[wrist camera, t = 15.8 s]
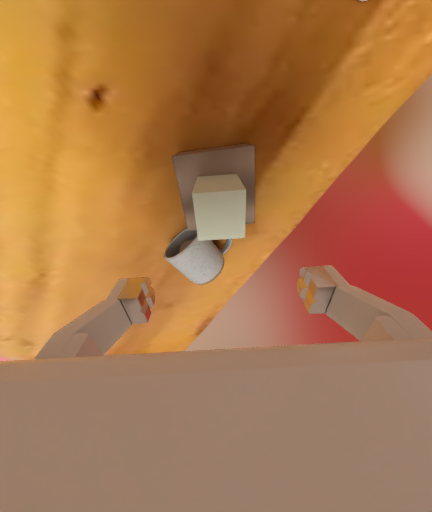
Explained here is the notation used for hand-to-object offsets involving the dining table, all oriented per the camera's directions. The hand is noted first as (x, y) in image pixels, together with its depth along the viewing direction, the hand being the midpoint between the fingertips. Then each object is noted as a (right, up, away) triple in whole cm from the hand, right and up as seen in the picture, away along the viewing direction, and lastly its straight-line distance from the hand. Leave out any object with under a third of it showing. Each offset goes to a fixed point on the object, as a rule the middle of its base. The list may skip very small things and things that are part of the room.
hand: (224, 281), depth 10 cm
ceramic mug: (-3, +4, +24) cm, 25 cm away
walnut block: (0, +13, +19) cm, 23 cm away
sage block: (0, +10, +15) cm, 18 cm away
